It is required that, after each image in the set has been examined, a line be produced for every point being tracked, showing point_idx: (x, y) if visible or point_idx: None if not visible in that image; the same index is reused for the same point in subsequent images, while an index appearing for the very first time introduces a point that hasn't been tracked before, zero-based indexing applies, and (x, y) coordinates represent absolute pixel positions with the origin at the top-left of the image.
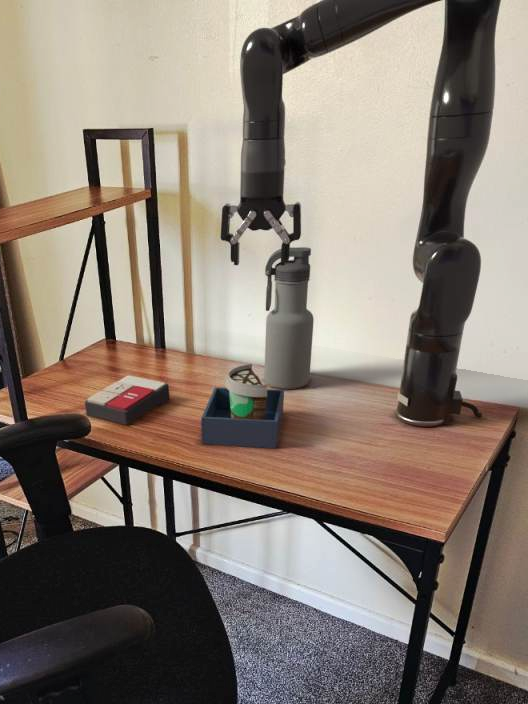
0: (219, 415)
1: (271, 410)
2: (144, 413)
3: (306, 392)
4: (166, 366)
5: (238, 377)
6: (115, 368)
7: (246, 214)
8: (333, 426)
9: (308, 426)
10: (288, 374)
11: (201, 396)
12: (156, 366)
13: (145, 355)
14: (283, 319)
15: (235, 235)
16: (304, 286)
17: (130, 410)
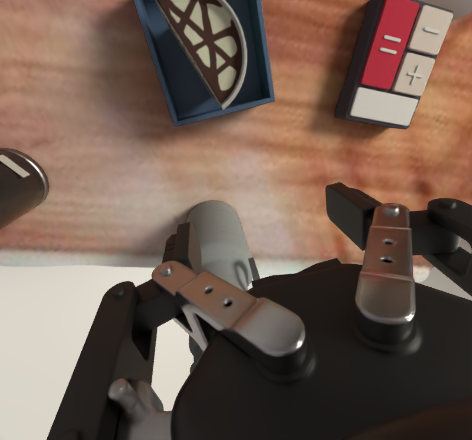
0: (252, 76)
1: (190, 115)
2: (355, 48)
3: (179, 204)
4: None
5: (226, 48)
6: (421, 192)
7: (425, 308)
8: (100, 110)
9: (130, 97)
10: (202, 209)
11: (297, 145)
12: None
13: None
14: (218, 248)
15: (399, 222)
16: None
17: (378, 3)
